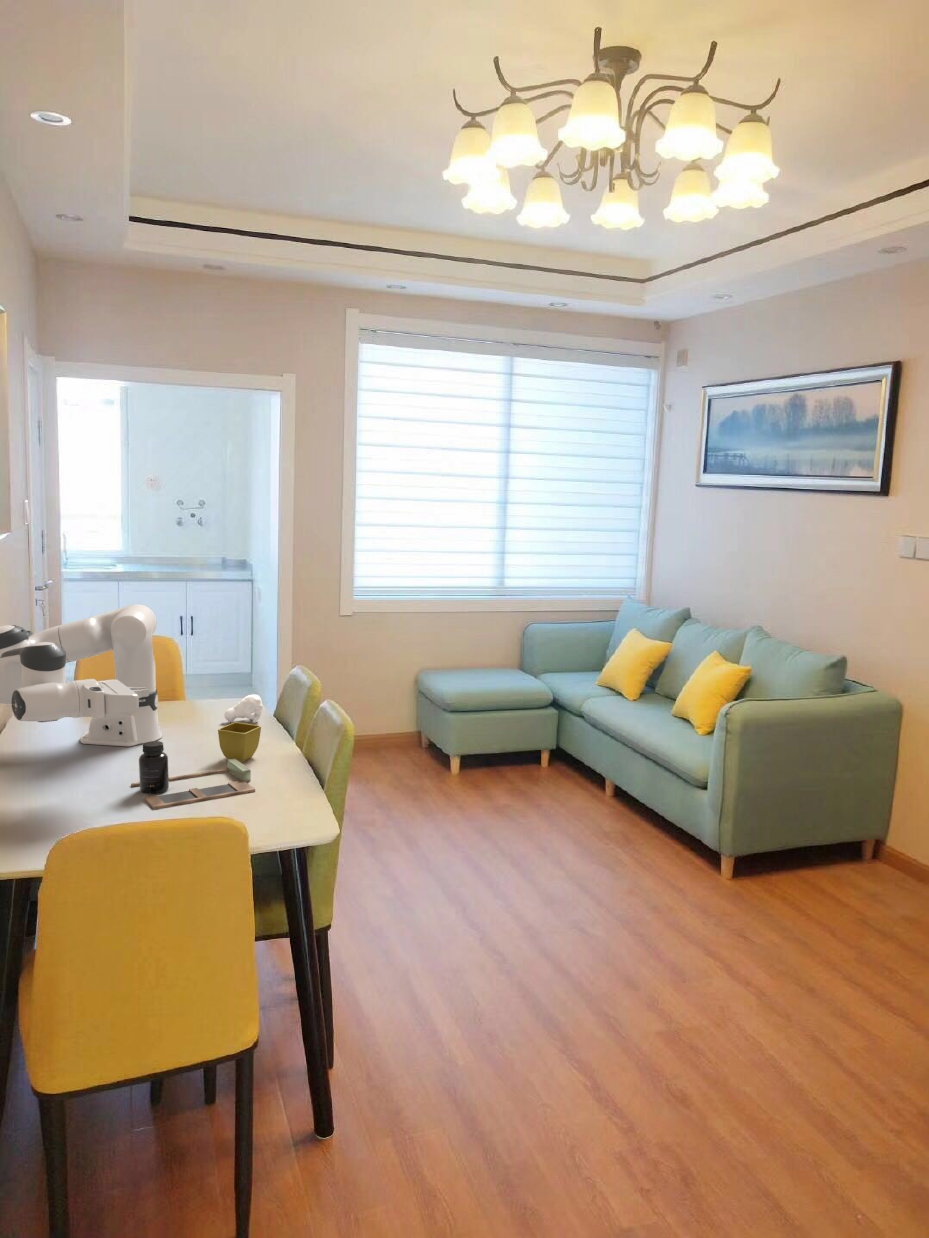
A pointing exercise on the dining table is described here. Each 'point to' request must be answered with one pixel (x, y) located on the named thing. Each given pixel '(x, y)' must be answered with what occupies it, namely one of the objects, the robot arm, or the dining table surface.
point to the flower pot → (239, 740)
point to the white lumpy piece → (245, 709)
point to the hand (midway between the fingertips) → (147, 691)
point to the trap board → (205, 793)
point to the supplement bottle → (153, 768)
